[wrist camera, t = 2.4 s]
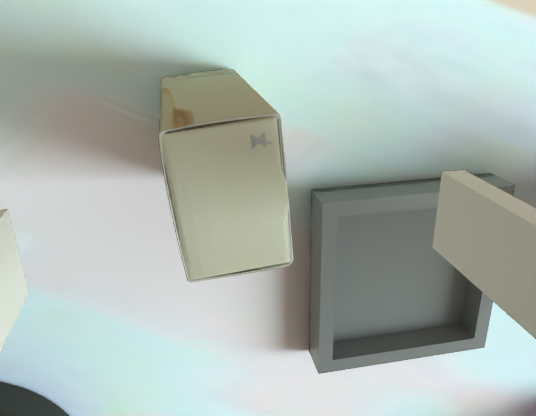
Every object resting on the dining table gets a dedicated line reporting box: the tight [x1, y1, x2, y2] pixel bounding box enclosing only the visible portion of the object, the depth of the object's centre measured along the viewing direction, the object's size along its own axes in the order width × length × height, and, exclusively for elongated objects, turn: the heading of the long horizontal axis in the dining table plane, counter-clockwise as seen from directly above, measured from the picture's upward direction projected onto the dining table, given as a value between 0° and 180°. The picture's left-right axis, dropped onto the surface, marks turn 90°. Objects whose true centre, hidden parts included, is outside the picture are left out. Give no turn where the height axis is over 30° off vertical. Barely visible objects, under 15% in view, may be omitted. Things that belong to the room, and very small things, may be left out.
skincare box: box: [158, 69, 293, 282], centre depth 22 cm, size 6×4×12 cm
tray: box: [309, 174, 515, 374], centre depth 33 cm, size 13×13×2 cm
